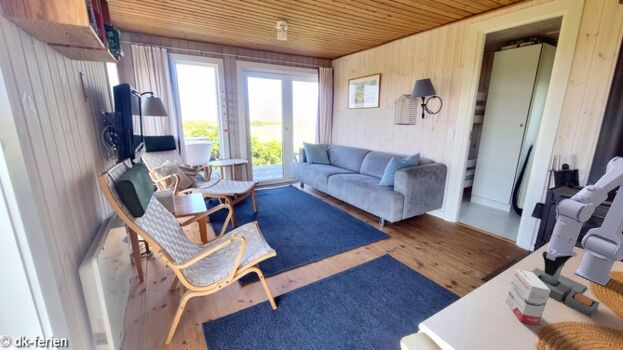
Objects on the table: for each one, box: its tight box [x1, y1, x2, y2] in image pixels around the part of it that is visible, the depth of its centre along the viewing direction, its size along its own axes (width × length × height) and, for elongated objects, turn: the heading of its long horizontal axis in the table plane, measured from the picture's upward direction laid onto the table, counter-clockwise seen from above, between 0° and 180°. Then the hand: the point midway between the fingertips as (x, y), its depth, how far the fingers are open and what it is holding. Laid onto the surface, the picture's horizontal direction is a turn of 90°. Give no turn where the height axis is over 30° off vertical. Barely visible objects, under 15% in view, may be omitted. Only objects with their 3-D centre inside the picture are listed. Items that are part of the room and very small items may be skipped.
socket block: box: [530, 267, 573, 302], centre depth 88 cm, size 10×10×2 cm
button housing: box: [564, 290, 600, 318], centre depth 80 cm, size 6×6×2 cm
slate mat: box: [559, 274, 587, 294], centre depth 90 cm, size 7×7×1 cm
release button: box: [574, 293, 593, 307], centre depth 80 cm, size 4×4×2 cm
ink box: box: [505, 268, 551, 326], centre depth 75 cm, size 9×5×12 cm, turn 168°
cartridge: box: [541, 263, 566, 285], centre depth 87 cm, size 4×4×8 cm
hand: (551, 272), depth 87 cm, fingers closed on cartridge, 4 cm apart
